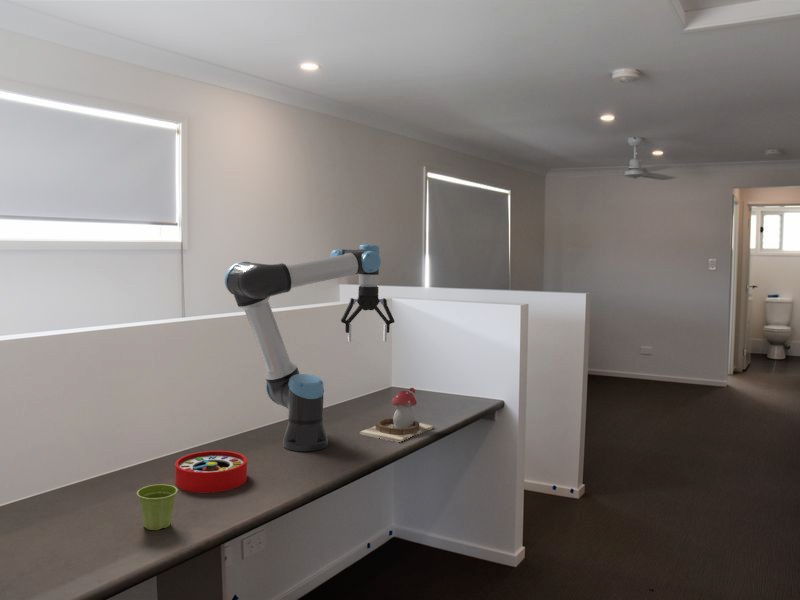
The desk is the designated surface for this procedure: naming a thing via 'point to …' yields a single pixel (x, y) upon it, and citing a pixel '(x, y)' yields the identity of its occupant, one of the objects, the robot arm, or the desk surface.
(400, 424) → the decorative ornament
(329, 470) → the desk surface
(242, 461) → the toy clock
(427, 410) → the desk surface
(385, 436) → the collar board
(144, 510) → the plant pot
